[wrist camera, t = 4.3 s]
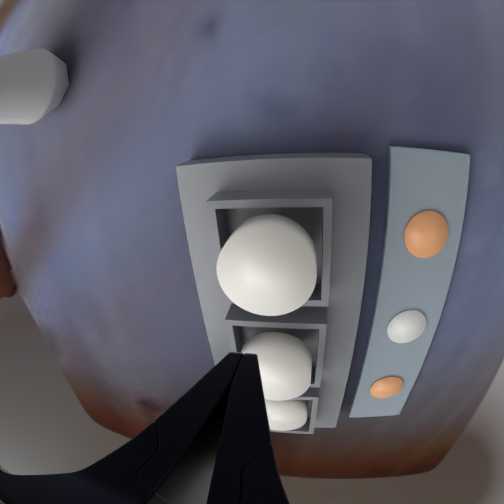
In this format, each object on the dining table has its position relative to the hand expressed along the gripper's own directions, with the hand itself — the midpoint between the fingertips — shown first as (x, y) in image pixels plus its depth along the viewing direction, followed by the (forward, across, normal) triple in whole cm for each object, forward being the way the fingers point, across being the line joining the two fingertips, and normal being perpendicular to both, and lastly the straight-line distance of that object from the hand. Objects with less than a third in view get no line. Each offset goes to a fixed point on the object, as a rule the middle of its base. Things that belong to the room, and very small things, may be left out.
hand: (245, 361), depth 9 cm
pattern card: (+10, -9, +7) cm, 15 cm away
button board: (+10, 0, +7) cm, 12 cm away
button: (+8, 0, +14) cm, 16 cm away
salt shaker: (+10, +16, -12) cm, 23 cm away
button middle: (+7, 0, +7) cm, 10 cm away
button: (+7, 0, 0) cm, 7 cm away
